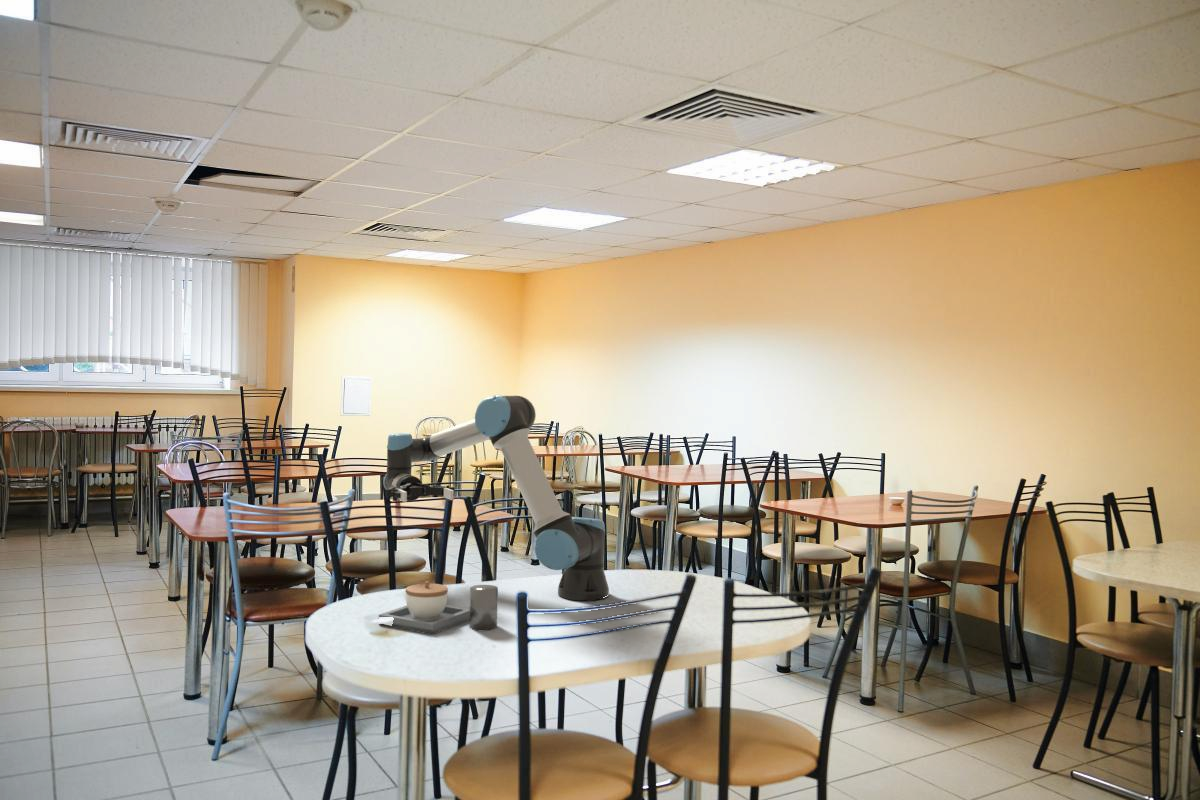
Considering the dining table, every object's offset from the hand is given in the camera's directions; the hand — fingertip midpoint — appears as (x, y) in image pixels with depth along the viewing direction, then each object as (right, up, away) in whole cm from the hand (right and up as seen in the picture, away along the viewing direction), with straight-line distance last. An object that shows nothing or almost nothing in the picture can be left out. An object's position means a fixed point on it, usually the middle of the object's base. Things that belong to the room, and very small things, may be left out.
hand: (429, 496), depth 247 cm
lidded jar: (+3, -30, -19) cm, 36 cm away
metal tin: (+18, -31, -22) cm, 42 cm away
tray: (+3, -30, -19) cm, 36 cm away
